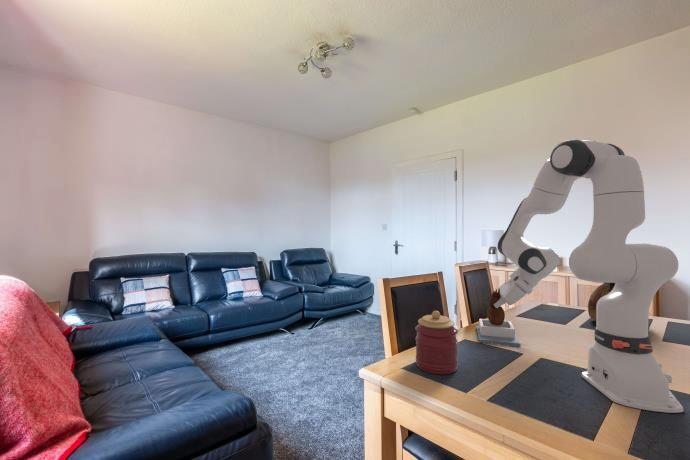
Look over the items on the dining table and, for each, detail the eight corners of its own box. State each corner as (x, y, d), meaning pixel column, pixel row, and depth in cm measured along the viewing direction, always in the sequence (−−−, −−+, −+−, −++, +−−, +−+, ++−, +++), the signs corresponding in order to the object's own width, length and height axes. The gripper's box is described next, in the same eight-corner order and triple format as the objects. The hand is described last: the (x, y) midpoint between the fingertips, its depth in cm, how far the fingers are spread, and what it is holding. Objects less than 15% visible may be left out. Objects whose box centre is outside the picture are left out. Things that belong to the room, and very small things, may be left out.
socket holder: (520, 346, 118) (520, 333, 118) (479, 342, 123) (478, 330, 123) (512, 331, 135) (512, 320, 135) (476, 328, 140) (476, 317, 140)
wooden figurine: (507, 326, 128) (506, 289, 127) (492, 327, 128) (492, 289, 127) (499, 321, 134) (498, 285, 134) (485, 322, 134) (484, 286, 134)
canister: (465, 365, 103) (464, 310, 103) (445, 379, 94) (444, 319, 94) (429, 354, 112) (428, 304, 112) (407, 366, 103) (407, 311, 103)
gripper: (510, 272, 138) (485, 293, 142) (519, 279, 119) (490, 304, 122) (522, 282, 137) (497, 304, 140) (533, 292, 117) (503, 317, 121)
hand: (494, 304), depth 131 cm, fingers closed on wooden figurine, 5 cm apart
